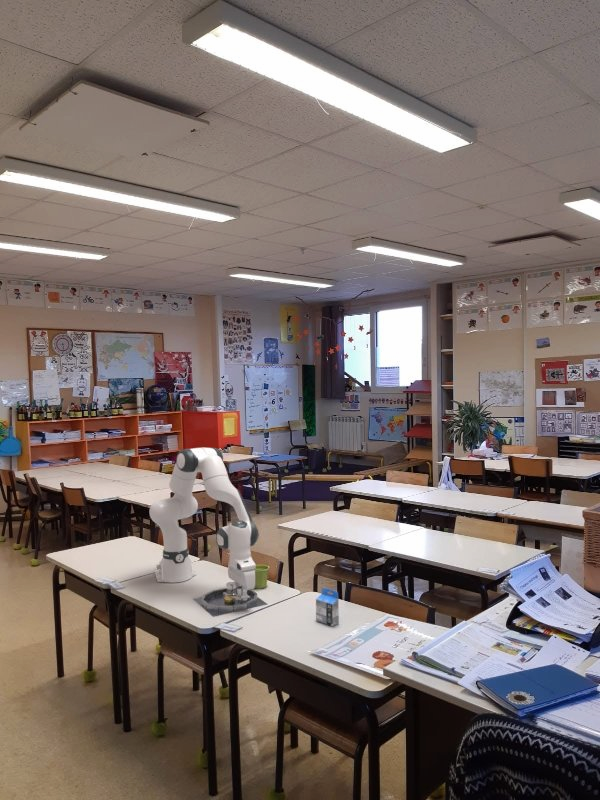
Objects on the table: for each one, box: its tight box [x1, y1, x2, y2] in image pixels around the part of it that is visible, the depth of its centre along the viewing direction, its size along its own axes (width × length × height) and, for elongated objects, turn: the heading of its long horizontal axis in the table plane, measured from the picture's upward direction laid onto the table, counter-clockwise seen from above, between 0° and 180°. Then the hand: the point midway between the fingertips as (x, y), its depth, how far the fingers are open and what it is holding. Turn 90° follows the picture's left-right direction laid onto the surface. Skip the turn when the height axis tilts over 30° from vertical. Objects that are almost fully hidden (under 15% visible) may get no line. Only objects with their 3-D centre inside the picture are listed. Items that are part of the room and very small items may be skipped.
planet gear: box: [233, 585, 250, 604], centre depth 247 cm, size 7×7×6 cm
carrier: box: [192, 581, 268, 618], centre depth 251 cm, size 24×24×7 cm
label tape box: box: [315, 586, 340, 627], centre depth 228 cm, size 9×4×12 cm, turn 45°
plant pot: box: [254, 564, 270, 590], centre depth 272 cm, size 9×9×9 cm
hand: (241, 594), depth 247 cm, fingers closed on planet gear, 4 cm apart
